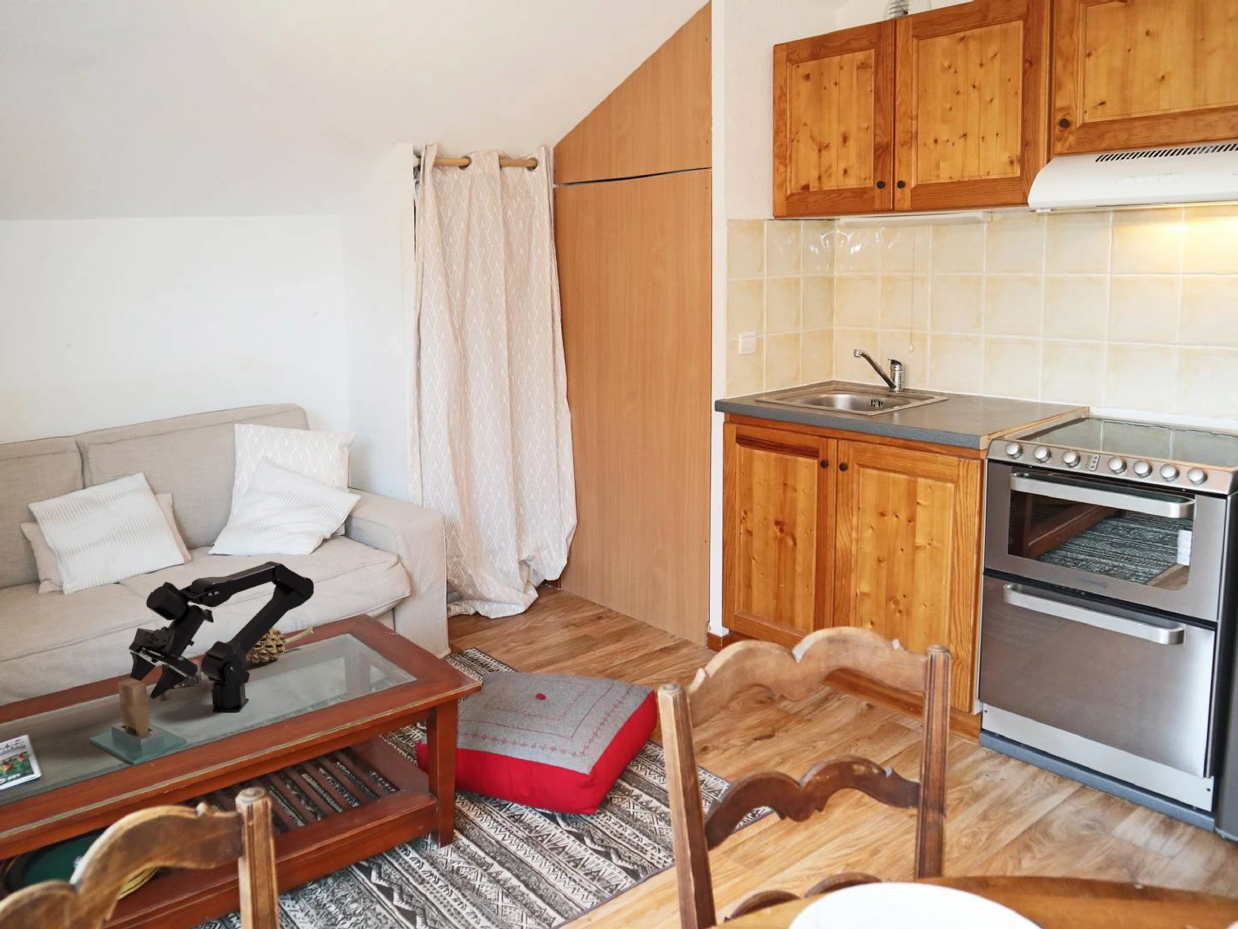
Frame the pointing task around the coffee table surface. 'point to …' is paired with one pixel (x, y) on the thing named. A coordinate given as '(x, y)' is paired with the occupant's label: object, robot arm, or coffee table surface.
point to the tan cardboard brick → (134, 705)
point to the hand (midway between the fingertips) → (140, 693)
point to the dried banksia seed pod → (272, 645)
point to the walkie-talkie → (189, 678)
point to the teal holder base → (137, 742)
